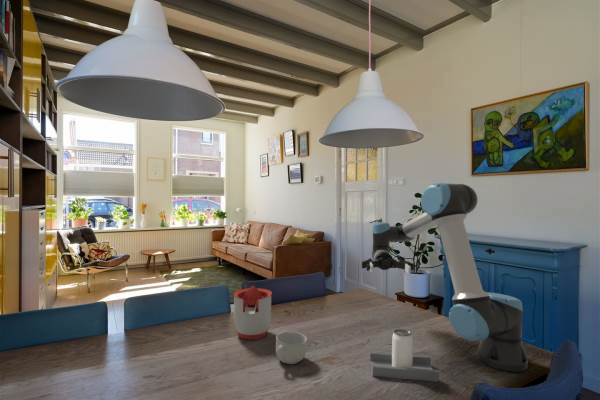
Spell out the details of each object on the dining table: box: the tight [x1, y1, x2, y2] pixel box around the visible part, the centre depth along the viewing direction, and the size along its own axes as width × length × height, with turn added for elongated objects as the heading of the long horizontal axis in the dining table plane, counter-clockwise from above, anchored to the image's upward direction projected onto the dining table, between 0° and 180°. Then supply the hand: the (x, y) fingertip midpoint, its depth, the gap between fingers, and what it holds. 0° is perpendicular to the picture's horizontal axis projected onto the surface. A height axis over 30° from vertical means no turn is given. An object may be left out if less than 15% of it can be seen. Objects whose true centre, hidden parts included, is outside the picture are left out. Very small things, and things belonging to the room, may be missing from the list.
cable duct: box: [369, 351, 440, 383], centre depth 108 cm, size 20×10×3 cm, turn 83°
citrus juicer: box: [233, 285, 273, 340], centre depth 134 cm, size 16×17×20 cm
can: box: [391, 328, 414, 368], centre depth 108 cm, size 6×6×12 cm
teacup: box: [275, 331, 308, 365], centre depth 113 cm, size 14×11×8 cm
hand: (390, 270), depth 122 cm, fingers open, 13 cm apart
